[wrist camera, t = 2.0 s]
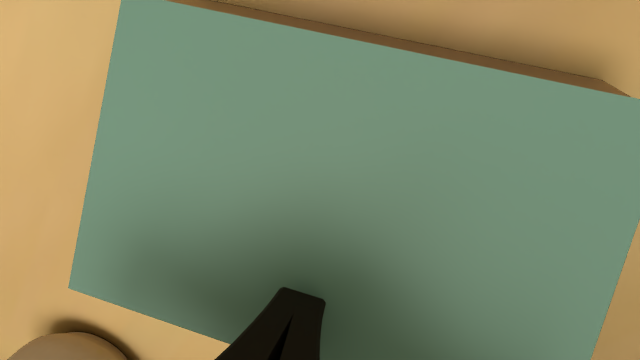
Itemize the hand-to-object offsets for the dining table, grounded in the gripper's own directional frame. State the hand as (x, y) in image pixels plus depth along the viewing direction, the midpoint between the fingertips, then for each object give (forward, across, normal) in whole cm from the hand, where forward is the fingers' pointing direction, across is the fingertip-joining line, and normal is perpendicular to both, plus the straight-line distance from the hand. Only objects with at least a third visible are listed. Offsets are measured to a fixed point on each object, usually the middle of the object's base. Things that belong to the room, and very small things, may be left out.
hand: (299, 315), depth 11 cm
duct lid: (+2, 0, -2) cm, 3 cm away
